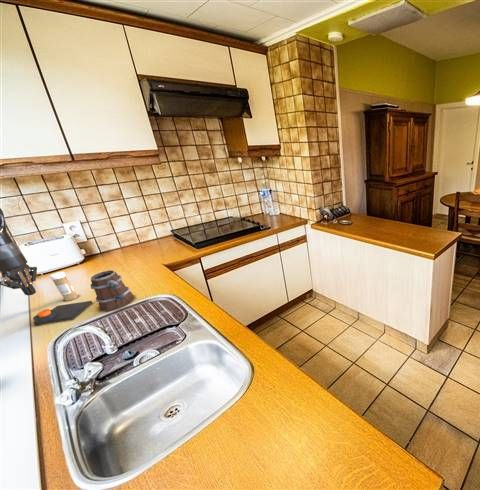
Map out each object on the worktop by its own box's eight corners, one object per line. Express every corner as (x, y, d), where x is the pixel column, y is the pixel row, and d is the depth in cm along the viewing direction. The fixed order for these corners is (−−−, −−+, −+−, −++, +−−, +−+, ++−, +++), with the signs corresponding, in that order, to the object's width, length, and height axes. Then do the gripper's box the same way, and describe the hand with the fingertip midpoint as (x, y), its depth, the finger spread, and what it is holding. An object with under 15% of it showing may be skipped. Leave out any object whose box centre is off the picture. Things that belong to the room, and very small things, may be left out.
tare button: (36, 318, 108) (33, 315, 107) (43, 313, 111) (41, 309, 110) (46, 317, 108) (44, 313, 108) (54, 311, 112) (52, 308, 111)
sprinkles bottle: (80, 294, 128) (66, 270, 123) (73, 300, 124) (58, 275, 119) (69, 296, 127) (54, 272, 122) (61, 302, 123) (46, 277, 118)
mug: (95, 307, 118) (78, 278, 112) (127, 293, 127) (113, 265, 121) (112, 316, 111) (95, 286, 105) (144, 300, 121) (131, 272, 115)
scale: (32, 326, 107) (28, 320, 106) (57, 308, 118) (53, 302, 117) (71, 320, 110) (68, 314, 109) (92, 303, 121) (89, 297, 120)
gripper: (10, 249, 104) (35, 287, 111) (-27, 264, 92) (3, 305, 99) (33, 247, 105) (56, 284, 112) (0, 261, 93) (27, 302, 100)
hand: (31, 294), depth 106 cm, fingers closed
